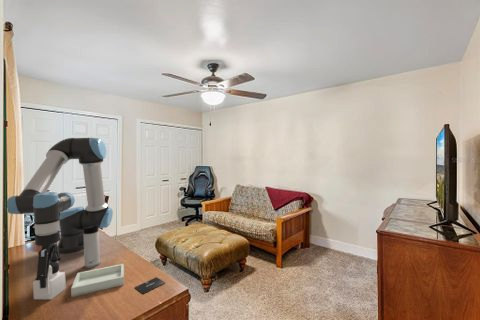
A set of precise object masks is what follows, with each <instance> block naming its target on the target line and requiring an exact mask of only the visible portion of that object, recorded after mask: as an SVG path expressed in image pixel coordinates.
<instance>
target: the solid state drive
mask: <svg viewBox="0 0 480 320" xmlns="http://www.w3.org/2000/svg"><path fill="white" fill-rule="evenodd" d="M165 284H166V282H165V281H164V280H162V279H160V278H158V277H157V276H156V277H154V278H152V279H150V280H147V281H145V282H143V283H141V284H139V285H137V286H135V287H134V289H135V290H136V291H137V292H138V293H140V294H141V295H144V294H146V293H149V292H151V291H153V290H155V289H157V288H158V287H161V286H163V285H165Z"/></svg>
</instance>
